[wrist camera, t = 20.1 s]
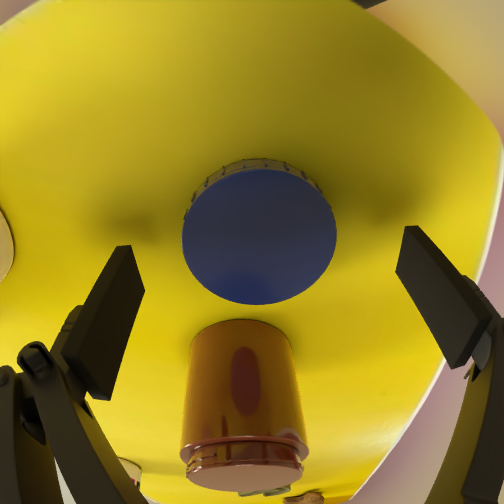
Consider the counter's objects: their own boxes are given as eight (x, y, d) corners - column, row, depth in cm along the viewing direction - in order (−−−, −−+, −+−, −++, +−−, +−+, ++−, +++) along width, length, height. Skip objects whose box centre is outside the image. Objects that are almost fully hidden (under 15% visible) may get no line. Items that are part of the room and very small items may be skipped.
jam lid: (195, 145, 15) (190, 154, 13) (346, 175, 16) (358, 187, 15) (179, 276, 19) (175, 295, 18) (305, 293, 20) (311, 312, 19)
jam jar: (292, 314, 21) (320, 453, 12) (290, 378, 25) (306, 487, 17) (179, 322, 21) (160, 460, 12) (200, 384, 25) (194, 493, 16)
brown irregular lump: (320, 487, 51) (322, 501, 48) (324, 494, 56) (326, 506, 53) (277, 495, 52) (278, 508, 49) (285, 501, 57) (287, 513, 54)
